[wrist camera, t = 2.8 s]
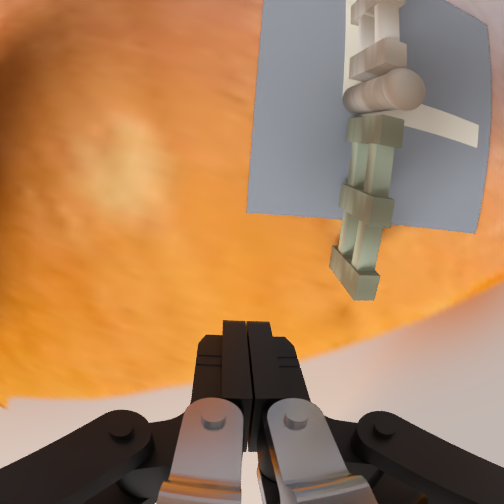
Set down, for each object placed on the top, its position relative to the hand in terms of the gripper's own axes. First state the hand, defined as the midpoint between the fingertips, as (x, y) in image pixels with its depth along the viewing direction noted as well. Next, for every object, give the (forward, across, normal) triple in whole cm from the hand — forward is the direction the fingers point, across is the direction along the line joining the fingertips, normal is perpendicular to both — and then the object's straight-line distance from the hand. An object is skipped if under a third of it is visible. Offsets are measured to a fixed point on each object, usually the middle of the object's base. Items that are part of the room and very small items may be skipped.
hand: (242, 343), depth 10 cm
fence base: (+9, -6, -15) cm, 19 cm away
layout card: (+10, -9, -11) cm, 18 cm away
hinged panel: (+9, -6, -4) cm, 12 cm away
